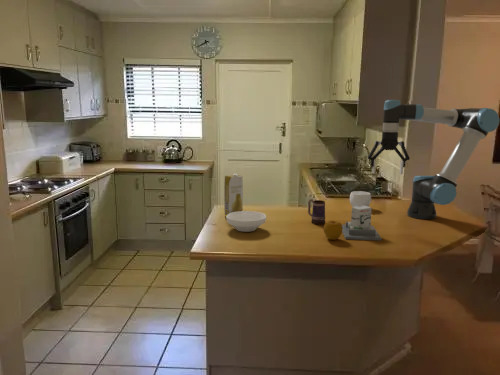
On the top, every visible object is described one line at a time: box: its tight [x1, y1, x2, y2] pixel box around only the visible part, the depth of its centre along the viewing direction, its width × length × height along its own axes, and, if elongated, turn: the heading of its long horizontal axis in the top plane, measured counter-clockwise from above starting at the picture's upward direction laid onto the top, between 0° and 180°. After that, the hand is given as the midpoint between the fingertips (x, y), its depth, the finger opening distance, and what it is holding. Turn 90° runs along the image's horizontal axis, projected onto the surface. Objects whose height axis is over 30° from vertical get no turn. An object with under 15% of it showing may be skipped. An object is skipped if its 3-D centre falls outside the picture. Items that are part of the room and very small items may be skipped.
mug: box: [307, 198, 326, 225], centre depth 211 cm, size 10×7×12 cm
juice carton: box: [223, 173, 244, 216], centre depth 221 cm, size 9×8×24 cm
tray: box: [342, 221, 382, 242], centre depth 193 cm, size 16×20×4 cm
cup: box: [349, 190, 372, 207], centre depth 241 cm, size 12×12×10 cm
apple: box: [323, 220, 343, 241], centre depth 183 cm, size 9×8×9 cm
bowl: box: [225, 210, 267, 233], centre depth 197 cm, size 20×20×7 cm
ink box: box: [350, 206, 372, 230], centre depth 192 cm, size 9×5×12 cm, turn 119°
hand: (387, 173), depth 204 cm, fingers open, 13 cm apart
